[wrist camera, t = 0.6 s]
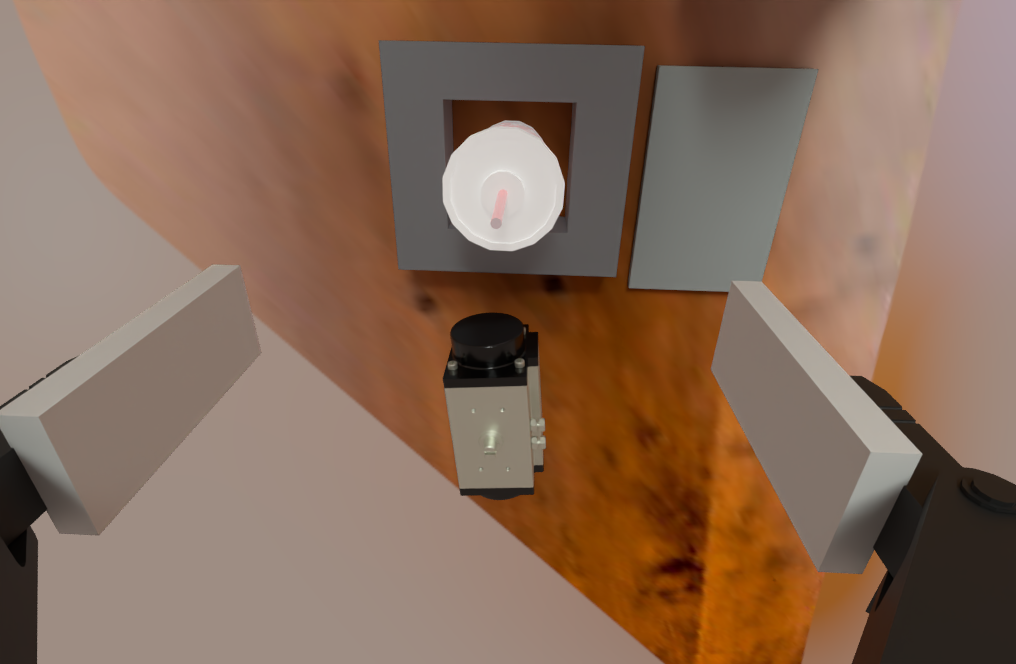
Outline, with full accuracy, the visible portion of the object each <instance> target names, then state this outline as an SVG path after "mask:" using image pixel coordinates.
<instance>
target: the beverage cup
mask: <svg viewBox="0 0 1016 664" xmlns="http://www.w3.org/2000/svg"><path fill="white" fill-rule="evenodd" d="M442 183H443V203H444V206H445V208H446V210H447V213H448V215H449V217H450V220H451V222H452V224H453V225H454V226H455V227H456V228H457V229H458V230H459V231H460V232H461V233H462V234H463V235H464V236H465V237H466V238H467V239H468V240H469V241H471V242H473V243H475V244H477V245H480V246H482V247H484V248H486V249H489V250H499V251H515V250H518V249H521V248H524V247H527V246H530V245H533V244H535V243H536V242H537V241H538V240H540V239H541V238H542V237H543V236H544V235H545V234H547V233H548V232H549V231H550V230H551V229H552V228H553V226H554V224H555V222H556V220H557V218H558V216H559V214H560V212H561V210H562V208H563V200H564V188H565V182H564V179H563V176H562V173H561V169H560V166H559V163H558V160H557V158H556V156H555V155H554V154H553V153H552V151H551V150H550V149H549V148H548V147H547V146H546V144H545V143H544V142H543V139H542V138H541V137H540V136H539V134H538V133H537V132H536V131H535V130H534V129H533V127H531V126H529V125H527V124H525V123H523V122H521V121H507V120H505V121H502V122H500V123H497V124H495V125H492V126H491V127H489V128H488V129H486V130H483V131H481V132H478V133H475V134H473V135H471V136H469V137H468V138H467V139H466V140H465V141H464V142H463V143H462V144H461V145H460V146H459V147H458V148H457V149H456V150H455V151H454V152H453V153H452V155H451V157H450V160H449V162H448V165H447V167H446V170H445V172H444V175H443V178H442Z"/></svg>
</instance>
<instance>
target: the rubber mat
mask: <svg viewBox="0 0 1016 664" xmlns="http://www.w3.org/2000/svg"><path fill="white" fill-rule="evenodd" d="M817 73H818V69H801V68H755V67H708V66H662V65H658V66H657V73H656V80H655V88H654V95H653V102H652V110H651V117H650V124H649V132H648V139H647V146H646V154H645V161H644V168H643V176H642V183H641V190H640V197H639V205H638V212H637V219H636V227H635V234H634V241H633V249H632V256H631V263H630V271H629V278H628V287H629V288H638V289H666V290H694V291H721V292H729V289H730V285H731V281H761V282H762V278H763V275H764V271H765V267H766V264H767V260H768V256H769V252H770V249H771V245H772V241H773V237H774V234H775V230H776V226H777V222H778V219H779V215H780V211H781V207H782V204H783V200H784V196H785V192H786V189H787V185H788V181H789V178H790V174H791V170H792V166H793V163H794V159H795V155H796V151H797V148H798V144H799V140H800V136H801V133H802V129H803V125H804V121H805V118H806V114H807V110H808V107H809V103H810V99H811V95H812V92H813V88H814V84H815V80H816V77H817Z"/></svg>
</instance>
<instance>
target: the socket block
mask: <svg viewBox="0 0 1016 664" xmlns="http://www.w3.org/2000/svg"><path fill="white" fill-rule="evenodd" d="M644 48H645V46H632V45H583V44H534V43H484V42H435V41H379V49H380V60H381V72H382V83H383V95H384V106H385V118H386V129H387V141H388V152H389V164H390V175H391V187H392V198H393V210H394V221H395V233H396V244H397V256H398V268H399V269H402V270H430V271H459V272H487V273H515V274H544V275H572V276H600V277H616V273H617V265H618V257H619V249H620V241H621V233H622V225H623V217H624V209H625V201H626V193H627V185H628V176H629V168H630V160H631V152H632V144H633V136H634V128H635V120H636V112H637V104H638V96H639V88H640V80H641V72H642V64H643V56H644ZM452 100H488V101H529V102H571V103H573V107H572V121H571V135H570V150H569V164H568V178H567V192H566V206H565V217H561V216H558V218H557V220H556V222H555V224H554V226H553V228H552V229H551V230H550V231H549V232H548V233H547V234H545V235H544V236H543V237H542V238H541V239H540V240H538V241H537V242H536V243H535V244H533V245H530V246H527V247H524V248H521V249H518V250H515V251H499V250H489V249H486V248H484V247H482V246H480V245H477V244H475V243H473V242H471V241H469V240H468V239H467V238H466V237H465V236H464V235H463V234H462V233H461V232H460V231H459V230H458V229H457V228H456V227H455V226H454V225H453V224H452V222H451V220H450V217H449V215H448V213H447V210H446V208H445V206H444V203H443V183H442V178H443V175H444V172H445V170H446V167H447V165H448V162H449V160H450V157H451V155H452V153H453V152H454V150H453V117H452Z"/></svg>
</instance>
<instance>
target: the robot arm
mask: <svg viewBox="0 0 1016 664" xmlns="http://www.w3.org/2000/svg"><path fill="white" fill-rule="evenodd" d="M260 354H261V349H260V345H259V341H258V337H257V332H256V328H255V325H254V320H253V316H252V312H251V308H250V304H249V300H248V295H247V291H246V287H245V283H244V279H243V275H242V271H241V267H240V265H211V266H210V267H208V268H207V269H205V270H204V271H202V272H201V273H199V274H198V275H196V276H195V277H194V278H192V279H191V280H190V281H188V282H186V283H185V284H183V285H182V286H180V287H179V288H177V289H176V290H174V291H173V292H172V293H170V294H169V295H167V296H166V297H164V298H163V299H162V300H160V301H159V302H157V303H155V304H154V305H153V306H151V307H150V308H148V309H147V310H145V311H144V312H142V313H141V314H139V315H138V316H136V317H135V318H134V319H132V320H131V321H129V322H128V323H126V324H125V325H123V326H122V327H120V328H119V329H117V330H116V331H115V332H113V333H112V334H110V335H109V336H107V337H106V338H105V339H103V340H102V341H100V342H98V343H97V344H96V345H94V346H93V347H91V348H90V349H88V350H87V351H85V352H84V353H82V354H81V355H79V356H77V357H75V358H73V359H71V360H68V361H66V362H65V363H63V364H62V365H60V366H59V367H57V368H56V369H54V370H53V371H51V372H50V373H48V374H47V375H46V378H41V379H40V380H38V381H37V382H36V383H34V384H32V385H31V386H29V390H23V391H22V392H20V393H19V394H18V395H16V396H15V397H13V398H12V399H10V400H9V401H7V402H6V403H4V404H3V405H1V406H0V664H37V587H38V585H37V584H38V571H37V570H38V540H37V538H36V535H35V533H34V531H33V530H32V528H31V526H30V525H31V524H32V523H33V522H34V521H35V520H36V519H38V518H39V517H40V515H42V514H43V513H44V512H45V511H47V513H48V514H49V516H50V518H51V520H52V521H53V523H54V525H55V527H56V529H57V530H58V532H59V533H61V534H80V535H100V534H101V533H102V531H103V530H104V529H105V528H106V527H107V526H108V525H109V524H110V523H111V521H112V520H113V519H114V518H115V517H116V516H117V515H118V513H119V512H120V511H121V510H122V509H123V508H124V506H126V505H127V503H128V502H129V501H130V500H131V499H132V498H133V497H134V496H135V494H136V493H137V492H138V491H139V490H140V489H141V488H142V487H143V485H144V484H145V483H146V482H147V481H148V480H149V478H151V476H152V475H153V474H154V473H155V472H156V471H157V470H158V468H159V467H160V466H161V465H162V464H163V463H164V462H165V461H166V460H167V458H168V457H169V456H170V455H171V454H172V453H173V452H174V450H175V449H176V448H177V447H178V446H179V445H180V443H182V442H183V440H184V439H185V438H186V437H187V436H188V435H189V434H190V433H191V431H192V430H193V429H194V428H195V427H196V426H197V425H198V424H199V422H200V421H201V420H202V419H203V418H204V416H205V415H207V413H208V412H209V411H210V410H211V409H212V408H213V407H214V405H215V404H216V403H217V402H218V401H219V400H220V399H221V398H222V396H223V395H224V394H225V393H226V392H227V391H228V390H229V389H230V388H231V386H232V385H233V384H234V383H235V382H236V381H237V380H238V379H239V377H240V376H241V375H242V374H243V373H244V372H245V371H246V370H247V368H248V367H249V366H250V365H251V364H252V363H253V362H254V361H255V359H256V358H257V357H258V356H259V355H260ZM711 371H712V372H713V374H714V376H715V378H716V380H717V382H718V384H719V386H720V388H721V389H722V391H723V393H724V395H725V397H726V399H727V401H728V403H729V405H730V406H731V408H732V410H733V412H734V414H735V416H736V418H737V420H738V422H739V424H740V425H741V427H742V429H743V431H744V433H745V435H746V437H747V439H748V441H749V442H750V444H751V446H752V448H753V450H754V452H755V454H756V456H757V458H758V459H759V461H760V463H761V465H762V467H763V469H764V471H765V473H766V475H767V476H768V478H769V480H770V482H771V484H772V486H773V488H774V490H775V492H776V493H777V495H778V497H779V499H780V501H781V503H782V505H783V507H784V509H785V510H786V512H787V514H788V516H789V518H790V520H791V522H792V524H793V526H794V527H795V529H796V531H797V533H798V535H799V537H800V539H801V541H802V543H803V544H804V546H805V548H806V550H807V552H808V554H809V556H810V558H811V560H812V561H813V563H814V565H815V567H816V569H817V571H818V572H833V573H853V574H855V573H856V574H862V573H863V571H864V569H865V567H866V565H867V563H868V561H869V559H870V557H871V555H872V553H873V551H874V550H875V551H876V553H877V554H878V556H879V557H880V559H881V560H882V562H883V563H884V565H885V566H886V568H887V569H888V570H887V572H886V574H885V576H884V578H883V580H882V581H881V583H880V585H879V587H878V589H877V591H876V593H875V594H874V596H873V598H872V600H871V602H870V604H869V606H868V608H867V610H866V612H867V613H869V617H868V620H867V623H866V625H865V628H864V631H863V634H862V637H861V640H860V642H859V645H858V648H857V651H856V653H855V656H854V659H853V662H852V664H1016V485H1015V484H1013V483H1011V482H1009V481H1007V480H1005V479H1002V478H1001V477H998V476H996V475H994V474H990V473H987V472H984V471H981V470H977V469H973V468H964V467H962V466H961V465H960V464H959V463H957V461H956V460H955V459H954V458H953V457H952V456H951V455H950V454H949V453H948V452H947V451H946V450H945V449H944V448H943V447H941V445H940V444H939V443H938V442H937V441H936V440H935V439H934V438H933V437H932V436H931V435H930V434H929V433H927V431H926V430H925V429H924V428H923V427H922V426H921V425H920V424H916V423H915V421H916V420H915V419H914V418H913V417H912V416H911V415H909V413H908V412H907V411H906V410H902V406H901V405H900V404H899V403H898V402H897V401H896V400H895V399H894V398H892V396H891V395H890V394H889V393H887V391H885V390H884V389H882V388H881V387H879V386H877V385H875V384H874V383H872V382H871V381H869V380H867V379H866V378H864V377H862V376H849V375H848V374H847V373H846V372H845V371H844V370H843V368H842V367H841V366H840V365H839V364H838V363H837V362H836V361H835V360H834V359H833V358H832V357H831V356H830V355H829V353H828V352H827V351H826V350H825V349H824V348H823V347H822V346H821V345H820V344H819V343H818V342H817V341H816V340H815V338H814V337H813V336H812V335H811V334H810V333H809V332H808V331H807V330H806V329H805V328H804V327H803V326H802V325H801V324H800V322H799V321H798V320H797V319H796V318H795V317H794V316H793V315H792V314H791V313H790V312H789V311H788V310H787V309H786V307H785V306H784V305H783V304H782V303H781V302H780V301H779V300H778V299H777V298H776V297H775V296H774V295H773V294H772V292H771V291H770V290H769V289H768V288H767V287H766V286H765V285H764V284H763V283H762V282H761V281H731V285H730V289H729V294H728V298H727V302H726V306H725V311H724V315H723V319H722V324H721V328H720V332H719V337H718V341H717V345H716V349H715V354H714V358H713V362H712V367H711Z"/></svg>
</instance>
